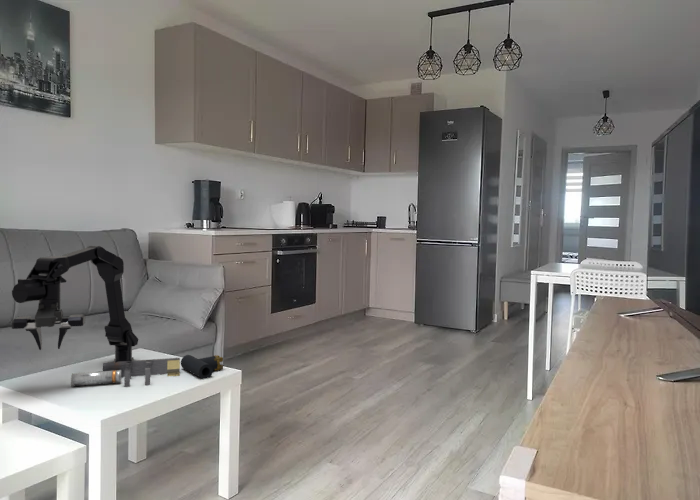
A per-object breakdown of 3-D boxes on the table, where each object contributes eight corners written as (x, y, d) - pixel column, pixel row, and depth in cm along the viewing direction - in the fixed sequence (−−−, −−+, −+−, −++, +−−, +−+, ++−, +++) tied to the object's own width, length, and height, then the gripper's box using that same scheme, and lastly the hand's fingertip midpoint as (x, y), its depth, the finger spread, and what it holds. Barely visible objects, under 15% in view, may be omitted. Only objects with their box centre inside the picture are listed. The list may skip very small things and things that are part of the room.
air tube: (70, 388, 156) (70, 375, 155) (72, 384, 159) (72, 371, 159) (120, 384, 160) (120, 371, 160) (121, 380, 164) (121, 368, 164)
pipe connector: (210, 350, 186) (230, 359, 175) (211, 364, 186) (230, 374, 175) (180, 355, 178) (198, 365, 167) (180, 370, 179) (198, 381, 167)
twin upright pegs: (126, 377, 167) (126, 362, 167) (150, 376, 170) (150, 361, 170) (124, 386, 158) (124, 370, 158) (150, 384, 161) (150, 369, 161)
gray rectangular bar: (102, 377, 167) (102, 362, 167) (179, 371, 175) (179, 357, 175) (101, 381, 163) (101, 366, 163) (179, 375, 171) (180, 360, 171)
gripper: (6, 303, 143) (6, 358, 144) (80, 301, 150) (80, 353, 150) (16, 297, 154) (17, 348, 154) (85, 296, 160) (85, 345, 161)
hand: (49, 349), depth 155 cm, fingers open, 5 cm apart
